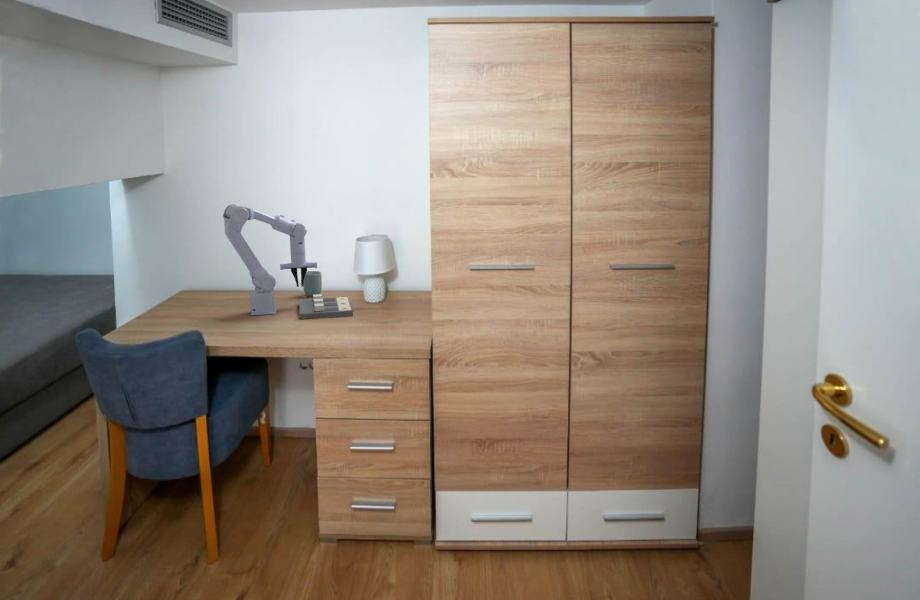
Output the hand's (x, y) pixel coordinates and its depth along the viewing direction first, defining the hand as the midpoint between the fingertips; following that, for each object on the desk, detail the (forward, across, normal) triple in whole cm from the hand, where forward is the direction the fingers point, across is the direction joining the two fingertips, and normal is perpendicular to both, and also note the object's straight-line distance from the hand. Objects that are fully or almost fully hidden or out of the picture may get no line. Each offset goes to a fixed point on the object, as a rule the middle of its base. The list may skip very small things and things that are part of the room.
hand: (300, 286), depth 325 cm
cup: (+9, -5, -18) cm, 21 cm away
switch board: (+8, -9, +8) cm, 15 cm away
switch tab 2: (+6, -7, +8) cm, 12 cm away
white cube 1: (+6, -7, +16) cm, 18 cm away
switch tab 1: (+6, -7, 0) cm, 9 cm away
